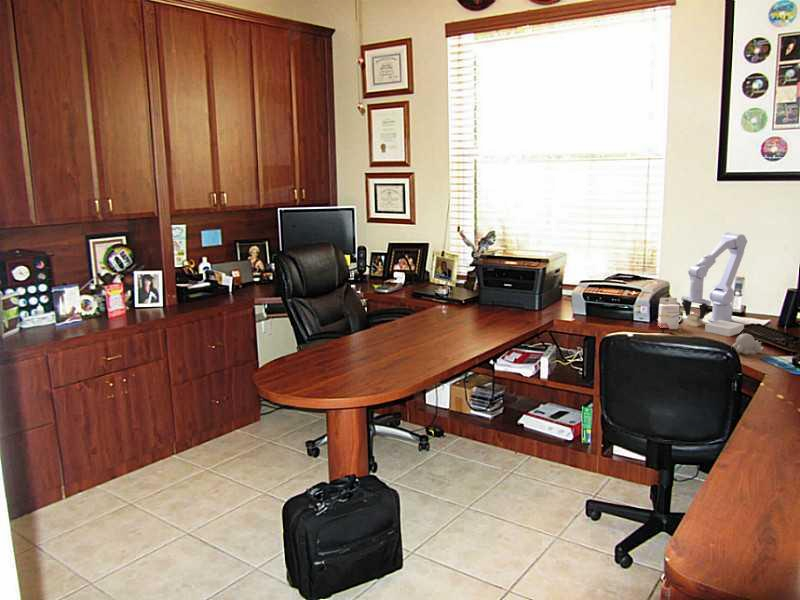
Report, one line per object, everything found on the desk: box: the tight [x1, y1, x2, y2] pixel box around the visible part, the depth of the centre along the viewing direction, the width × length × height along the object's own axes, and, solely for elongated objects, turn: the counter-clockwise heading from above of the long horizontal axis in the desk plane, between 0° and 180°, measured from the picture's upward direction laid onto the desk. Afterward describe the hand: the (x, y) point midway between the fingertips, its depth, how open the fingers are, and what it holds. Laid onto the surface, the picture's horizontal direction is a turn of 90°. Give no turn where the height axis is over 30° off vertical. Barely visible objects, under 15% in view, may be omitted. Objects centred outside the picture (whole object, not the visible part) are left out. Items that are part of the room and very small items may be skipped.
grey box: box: [704, 320, 745, 337], centre depth 315 cm, size 12×12×4 cm
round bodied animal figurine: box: [731, 332, 764, 356], centre depth 281 cm, size 7×12×8 cm, turn 90°
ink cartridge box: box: [657, 297, 680, 330], centre depth 324 cm, size 9×5×15 cm, turn 84°
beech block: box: [686, 313, 703, 328], centre depth 328 cm, size 5×5×5 cm
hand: (694, 317), depth 328 cm, fingers open, 7 cm apart
